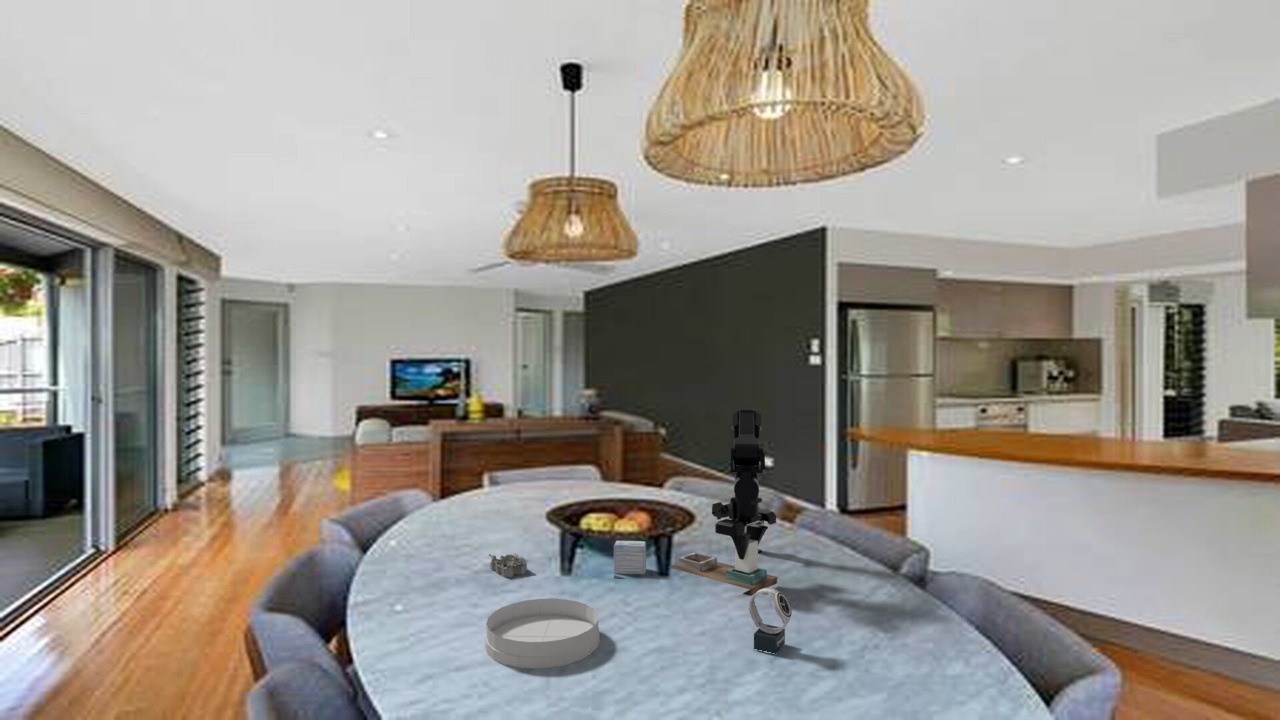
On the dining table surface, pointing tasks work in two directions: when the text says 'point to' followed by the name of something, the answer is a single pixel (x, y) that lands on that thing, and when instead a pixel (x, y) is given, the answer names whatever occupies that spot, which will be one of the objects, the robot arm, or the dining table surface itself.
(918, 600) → the dining table surface
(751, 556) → the plug
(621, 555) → the medicine box
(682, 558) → the socket board
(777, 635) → the watch
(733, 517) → the robot arm
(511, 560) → the toy castle
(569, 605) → the dish
